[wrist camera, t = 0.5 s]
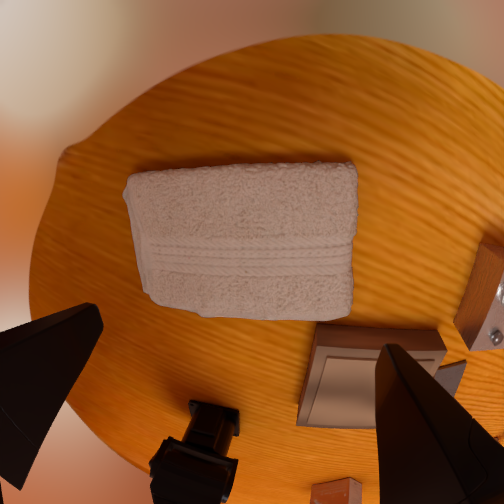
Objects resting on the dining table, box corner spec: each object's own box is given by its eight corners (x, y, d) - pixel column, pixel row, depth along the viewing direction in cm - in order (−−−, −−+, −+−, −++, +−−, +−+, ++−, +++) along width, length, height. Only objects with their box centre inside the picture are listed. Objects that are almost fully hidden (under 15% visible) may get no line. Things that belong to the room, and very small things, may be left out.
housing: (487, 321, 20) (509, 354, 15) (452, 321, 21) (473, 358, 16) (513, 248, 17) (546, 273, 12) (478, 242, 18) (513, 269, 13)
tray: (396, 408, 26) (399, 429, 23) (298, 404, 28) (295, 427, 25) (437, 330, 21) (448, 352, 18) (317, 323, 23) (316, 348, 20)
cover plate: (450, 395, 25) (451, 401, 24) (422, 402, 26) (424, 408, 25) (464, 356, 22) (466, 362, 21) (434, 364, 23) (436, 370, 22)
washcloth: (133, 172, 22) (111, 177, 19) (356, 156, 18) (364, 159, 15) (156, 295, 26) (141, 311, 23) (349, 303, 22) (353, 324, 20)
